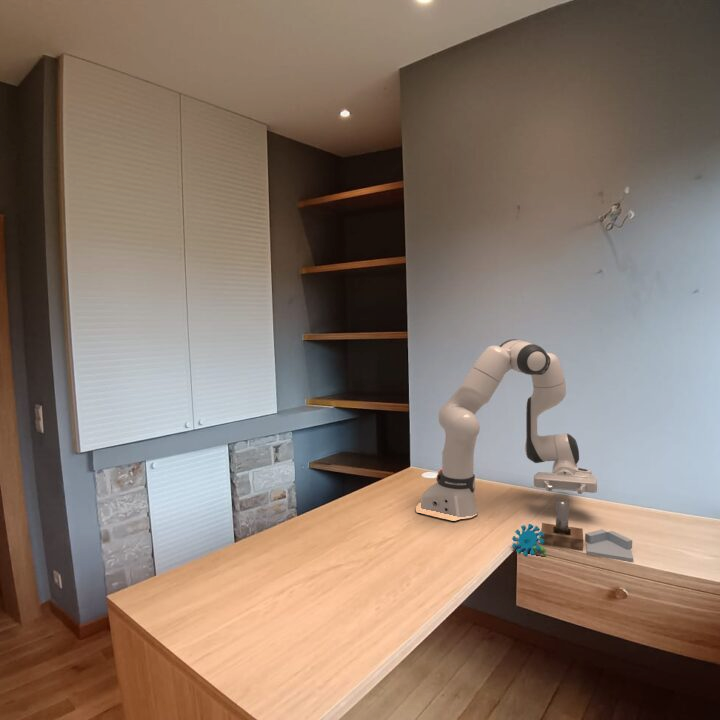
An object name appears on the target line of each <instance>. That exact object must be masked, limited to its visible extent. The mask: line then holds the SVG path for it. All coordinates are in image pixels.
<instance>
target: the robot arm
mask: <svg viewBox="0 0 720 720" xmlns="http://www.w3.org/2000/svg"><path fill="white" fill-rule="evenodd" d="M510 370H513V371H515V372H518V373H521V374H522V373H523V374H525V375H529V376H530V377H531V380H532V385H533V386H532V387H533V389H532V394H531V396H529V397H528V398H527V401H526V412H525V413H526V420H525V421H526V422H525V423H526V426H525V427H526V429H525V430H526V439H525V445H524V450H525V455H526V458H527V459H528V460H530V461H531V462H532V463H534V464H540V463H544V462H553V465H552V472H545V471H540V472H536V473H535V474H534V475H533V486H534V487H535V488H541V489H545V490H546V491H548V492H552V491H553V490H560V491H572V492H577V494H578V495H583V493H589V494H590V493H591V494H595V493H598V482H597V479H596V477H595V476H594V475H593V474H592V473H593V472H592V470H589V469H587V468H581V467H578V463H579V460H580V451H579V447H578V442H577V441H576V439H575V437H573V436H572V435H571V434H569V433H559V434H550V435H538V418H539V416H540V415H541V414H542V413H544V412H546V411H548V410H550V409H553V408H554V407H556V406H558V405H559V404H561V402H562V401H564V399H565V398H566V395H567V385H566V379H565V374H564V370H563V368H562V365H561V362H560V360H559V358H558V356H557V355H556V354H554V353H551V352H546V350H545V349H544V348H543V347H541V346H539V345H537V344H535V343H531V342H529V341H526V340H520V339H514V338H513V339H512V338H511V339H508V340H505V341H504V342H502V343H501V344H500V345H490V346H488V347H486V348H485V349H484V350H483V352H482V353H481V354H480V355H479V357H477V359H476V361H475V362H474V364H473V365H472V367H471V368H470V370H469V372H468V373H467V375H466V377H465V378H464V380H463V382H462V383H461V384H460V386H459V387H458V389H457V390H456V391H455V392H454V393H453V395H452V396H451V397H450V398H449V399H448V401H446V403H444V405H442V406H441V407H440V409H439V411H438V422H439V424H440V426H441V428H442V429H443V430H444V432H445V438H444V445H443V450H442V453H441V454H442V455H441V457H442V459H441V460H442V464H441V465H442V469H440V470H439V471H438V473H437V475H436V477H435V478H436V482H435V483H434V484H432V485H431V486H429V487H427V488H426V490H425V491H424V492H423V494H422V497H421V499H420V500H419V501H420V502H421V508H422V509H426V510H431V511H436V512H440V513H444V514H449V515H453V516H457V517H466V516H473V515H475V514H477V513H478V514H479V511H478V507H477V503H476V497H475V490H476V476H475V474H474V471H475V470H474V469H475V468H474V461H475V460H474V455H475V449H476V448H475V446H476V443H477V437H478V435H479V433H480V427H481V426H480V423H479V420H478V418H477V416H476V414H477V412H479V410H480V409H482V407H483V406H484V405H486V404H487V403H488V402H490V400H491V398H492V396H493V395H494V393H495V392H496V391H497V388H498V387H499V385H500V383H501V382H502V380H503V378H504V377H505V375H506V374H507V373H508V372H509V371H510Z"/></svg>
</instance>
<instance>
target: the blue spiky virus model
mask: <svg viewBox="0 0 720 720" xmlns="http://www.w3.org/2000/svg"><path fill="white" fill-rule="evenodd" d="M520 528H521V531H520V529H516V530H515V531H514V532H515V534H516V535H517V536H518V538H517V536H515V535H513V536H512V538H511V540H513V543H512V547H513V548H514V549H515V551H516V553H517V554H519V555H521V554H522V555H523V556H524V557H526V558H527V557H528V555H529V554H530V555H531V556H534V555H536V552H537V553H538V554H540V555H543V556H544V557H547V553H546V552H547V551H546V548H545V547H544V546H541V545H544V542H545V540H544V539H542V538H541V537H543V536H544V533H543V532H542V531H541V528H540V527H539V526H538V525H535V526H534V525H533V524H532V523H528V525H527V527H526V525H523V524H522V525H521V526H520ZM538 536H540V538H539V537H538ZM515 542H518V543H515ZM538 542H539V543H540V544H541V545H539V544H538ZM529 551H530V552H529Z"/></svg>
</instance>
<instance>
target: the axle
mask: <svg viewBox="0 0 720 720" xmlns="http://www.w3.org/2000/svg"><path fill="white" fill-rule="evenodd" d="M555 501H556V504H555V525H556V533H557V534H563V535H568V527H569V509H570V502H569V500H566V499H562V498H561V499H560V498H559V499H556V500H555Z"/></svg>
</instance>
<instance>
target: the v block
mask: <svg viewBox="0 0 720 720" xmlns="http://www.w3.org/2000/svg"><path fill="white" fill-rule="evenodd" d="M584 535H585V536H584V542H585V544H586V545H585V546H586V547H585V548H586V555H588V556H593V557H594V556H595V557H599V558H600V557H601V558H606V559H611V560H620V561H624V562H625V561H626V562H630V563H631V562H632V563H633V562H634V555H633V551H632V549H633V539H631V538H629V537H626V536H624V535H622V534H620V533H618V532H616V531H614V530H611V531H607V530H605V529H603V528H602V529H599V530H593V531H590V532H586V533H585V534H584Z"/></svg>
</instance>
